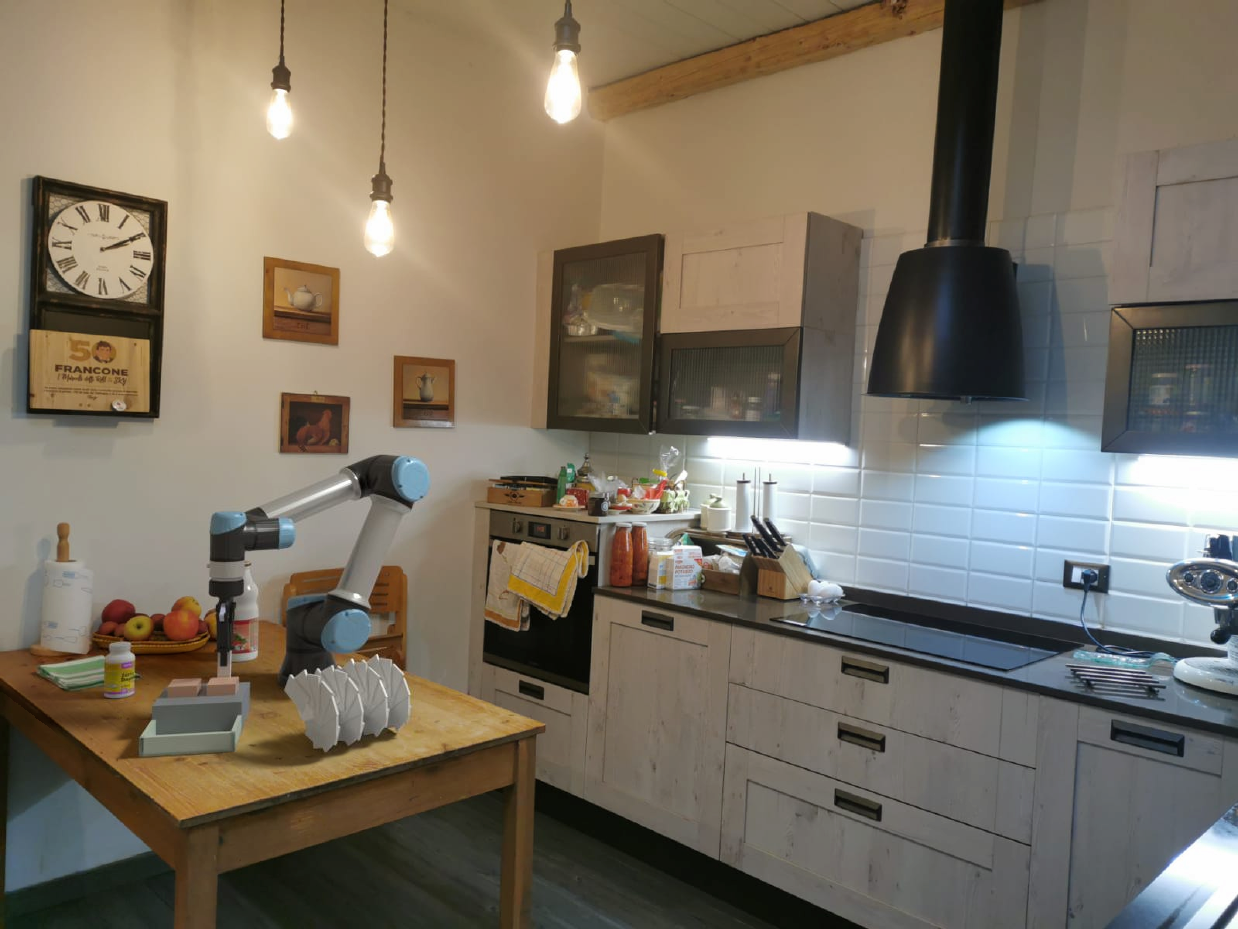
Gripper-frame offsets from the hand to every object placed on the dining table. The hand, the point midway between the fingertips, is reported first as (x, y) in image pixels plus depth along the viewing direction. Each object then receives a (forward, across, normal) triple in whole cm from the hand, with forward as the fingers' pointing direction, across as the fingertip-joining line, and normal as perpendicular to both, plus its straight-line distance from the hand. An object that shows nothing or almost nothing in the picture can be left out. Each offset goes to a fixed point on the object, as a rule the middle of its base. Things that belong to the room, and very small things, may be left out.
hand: (224, 678), depth 210 cm
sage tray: (+9, +18, -3) cm, 21 cm away
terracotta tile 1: (+2, +4, 0) cm, 4 cm away
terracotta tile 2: (+2, +4, -8) cm, 9 cm away
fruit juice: (+9, -53, -3) cm, 54 cm away
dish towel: (+10, -40, -39) cm, 57 cm away
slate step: (+9, +5, -4) cm, 11 cm away
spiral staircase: (+9, +21, +30) cm, 37 cm away
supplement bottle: (+9, -21, -27) cm, 35 cm away
